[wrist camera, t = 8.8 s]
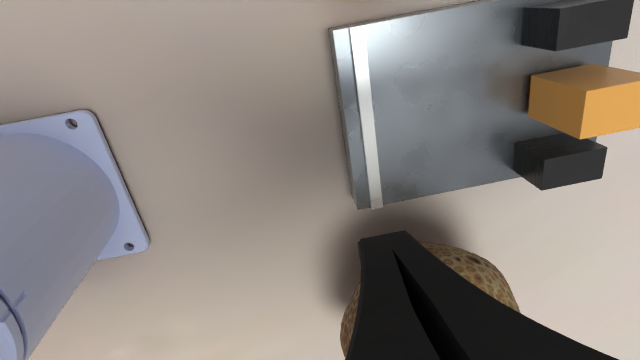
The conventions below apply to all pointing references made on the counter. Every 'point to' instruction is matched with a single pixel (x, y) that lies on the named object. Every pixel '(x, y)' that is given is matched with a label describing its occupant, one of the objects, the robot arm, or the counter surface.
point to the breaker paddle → (586, 100)
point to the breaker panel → (465, 95)
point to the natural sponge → (459, 261)
